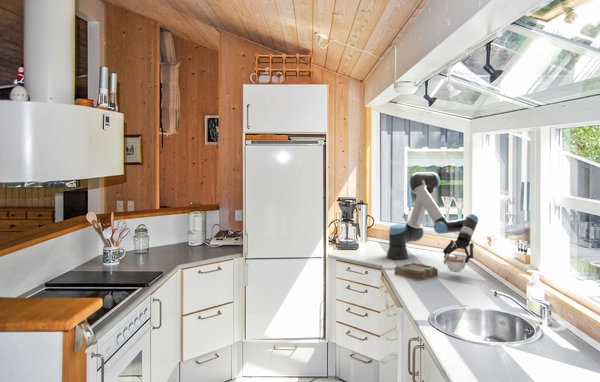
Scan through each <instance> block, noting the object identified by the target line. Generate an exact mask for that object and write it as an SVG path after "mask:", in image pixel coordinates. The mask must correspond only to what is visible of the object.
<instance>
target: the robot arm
mask: <svg viewBox="0 0 600 382" xmlns="http://www.w3.org/2000/svg"><path fill="white" fill-rule="evenodd" d="M440 184H441V179H440V176H439V174H437V173H436V172H434V171H418V172H415V173H413V174H412V175H411V176H410V179H409V186H410V189H411V191H412V192H413V194H414V195H416V198H415V201H414V204H413V208H412V212H411V215H410V218H409V220H407V221H406V224H400V223H399V224H394V225H391V226H390V227H389V230H388V231H389V232H388V233H389V242H388V243H389V247H388V249H387V250H388V251H387V252H386V258H388V259H391V260H407V259H409V253H408V250H407V243H410V242H418V241H420V240H422V239H423V237H424V235H425V231H424V228H423V227H424V226H423V224H422V223H423V219H424V216H425V214H426V212H427V214H428V216H429V217H430V218H431V219H430V220H432V222H433V223H434V224H433V231H434V232H435V233H437V234H440V235H441V234H442V235H443V234H448V233H451V234H452V233H458V232H459V233H458V236H457V238H456V240H453V239H451V240H450V242H449V244H448V245H446V247H445V248H444V249H443V250H442V253H443V254H444V256H443V261H442V263H443V264H444V265H445V266H447V260H446V258H447V257H450V254H452V253H453V252H455V251H456V250H458V249H461V250H464V252H465V255H466V256H464V257H463V258H464V261H463V263H462V267H463V268H464V269H465V267H466V264H468V263H469V261H470V259H474V247H475V245H474V242H471V240H472V237H473V236H474V235H473V234H474V232H475V229H476V227H477V225H478V221H479V218H478V216H477V215H476V214H474V213H468V214H466V216H465V218H462V219H461V218H460V219H455V220H447V219H446V217H445V215H444V214H443V213H442V211H441V209H440V208H439V206H438V204H437V203H436V202H435V200H434V198H433V197H432V194H434V191H435V189H438V188H439V187H440ZM468 247H469V251H468V249H467V248H468Z"/></svg>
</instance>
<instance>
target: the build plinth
mask: <svg viewBox="0 0 600 382" xmlns="http://www.w3.org/2000/svg"><path fill="white" fill-rule="evenodd" d="M394 275H397V276H401V277H405V278H409V279H413V280H417V281H420V280H425V279H428V278H433V277H437V276H438V275H439V269H438V268H436V266H432V265H427V264H423V263H419V262H409V263H405V264H404V263H403V264H400V265H397V266H395V267H394Z"/></svg>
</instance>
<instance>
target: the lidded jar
mask: <svg viewBox="0 0 600 382" xmlns="http://www.w3.org/2000/svg"><path fill="white" fill-rule="evenodd" d="M464 258H465V257H460V256H457V255H454V256H450V255H449V257H447V258H446V260H447V263H446V266H447V269H448V270H449V271H450V272H451V273H461V272H462V271H463V270H464V269H465V267H464V268H463V267H462V263H463V261H464Z"/></svg>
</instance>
